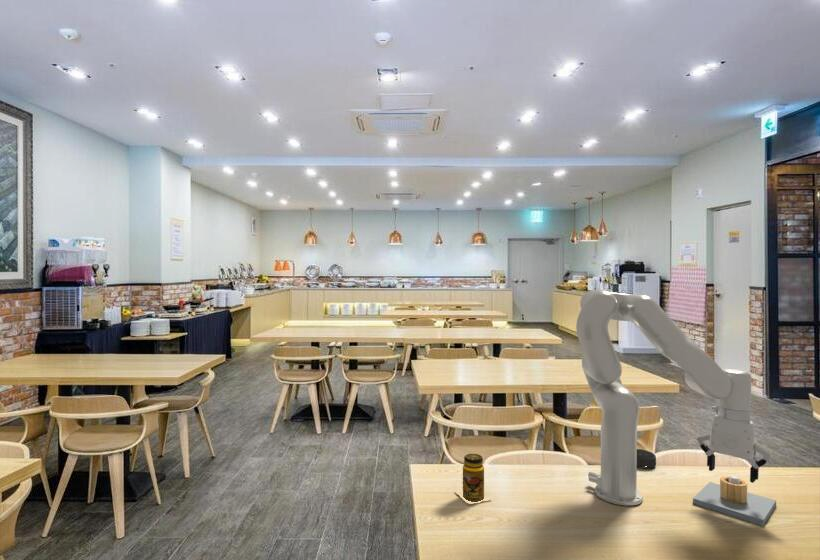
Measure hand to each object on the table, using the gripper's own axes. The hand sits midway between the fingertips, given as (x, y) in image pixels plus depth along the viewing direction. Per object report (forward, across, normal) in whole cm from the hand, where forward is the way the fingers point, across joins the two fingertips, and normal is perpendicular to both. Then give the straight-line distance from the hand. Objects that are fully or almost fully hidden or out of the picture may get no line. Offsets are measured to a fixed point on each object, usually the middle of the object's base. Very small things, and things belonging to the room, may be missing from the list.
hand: (731, 475), depth 129 cm
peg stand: (+8, +1, 0) cm, 8 cm away
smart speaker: (+9, -28, +12) cm, 32 cm away
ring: (+7, 0, 0) cm, 7 cm away
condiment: (+10, -51, -50) cm, 73 cm away
